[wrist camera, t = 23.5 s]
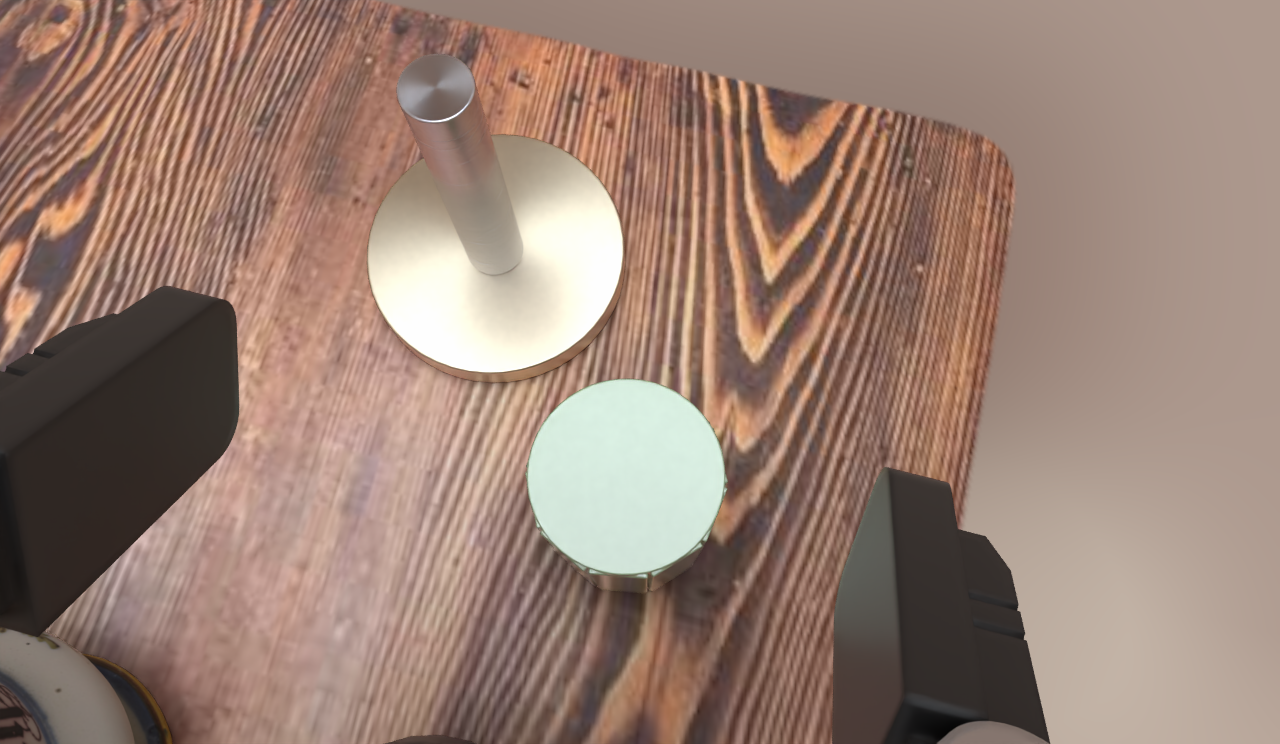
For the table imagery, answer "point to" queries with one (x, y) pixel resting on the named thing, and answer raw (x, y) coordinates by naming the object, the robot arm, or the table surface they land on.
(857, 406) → the table surface
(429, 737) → the mug
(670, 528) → the green grooved cylinder
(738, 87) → the table surface
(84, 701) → the apothecary jar
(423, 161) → the towel holder
